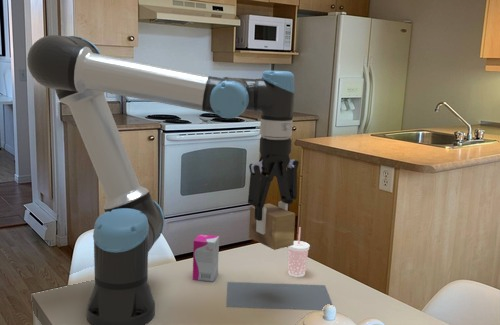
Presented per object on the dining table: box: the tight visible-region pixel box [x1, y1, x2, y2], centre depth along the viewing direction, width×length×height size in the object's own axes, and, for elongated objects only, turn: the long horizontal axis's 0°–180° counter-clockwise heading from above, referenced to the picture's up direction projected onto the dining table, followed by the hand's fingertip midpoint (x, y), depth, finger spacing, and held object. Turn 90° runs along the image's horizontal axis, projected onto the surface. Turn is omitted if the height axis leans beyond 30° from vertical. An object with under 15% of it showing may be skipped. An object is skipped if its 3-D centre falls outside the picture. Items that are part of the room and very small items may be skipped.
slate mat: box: [226, 281, 333, 311], centre depth 131 cm, size 26×14×1 cm, turn 92°
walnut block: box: [248, 203, 296, 251], centre depth 127 cm, size 10×6×8 cm, turn 37°
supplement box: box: [192, 233, 220, 283], centre depth 139 cm, size 6×6×12 cm
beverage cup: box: [287, 226, 311, 278], centre depth 144 cm, size 6×6×14 cm
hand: (271, 230), depth 128 cm, fingers closed on walnut block, 6 cm apart
